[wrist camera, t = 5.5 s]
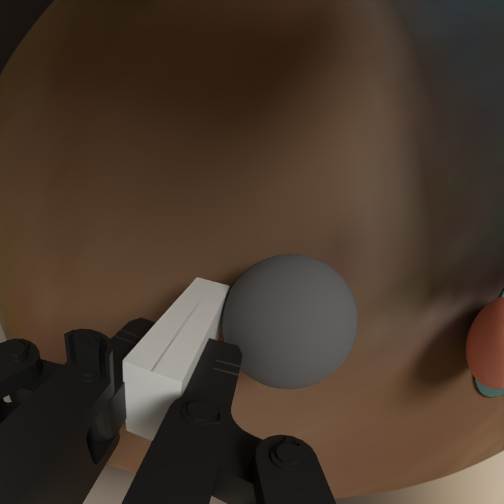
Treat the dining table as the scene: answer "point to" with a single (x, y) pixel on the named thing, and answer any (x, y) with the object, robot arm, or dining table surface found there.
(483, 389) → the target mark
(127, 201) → the dining table surface
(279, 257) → the gray ball
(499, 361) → the object ball
